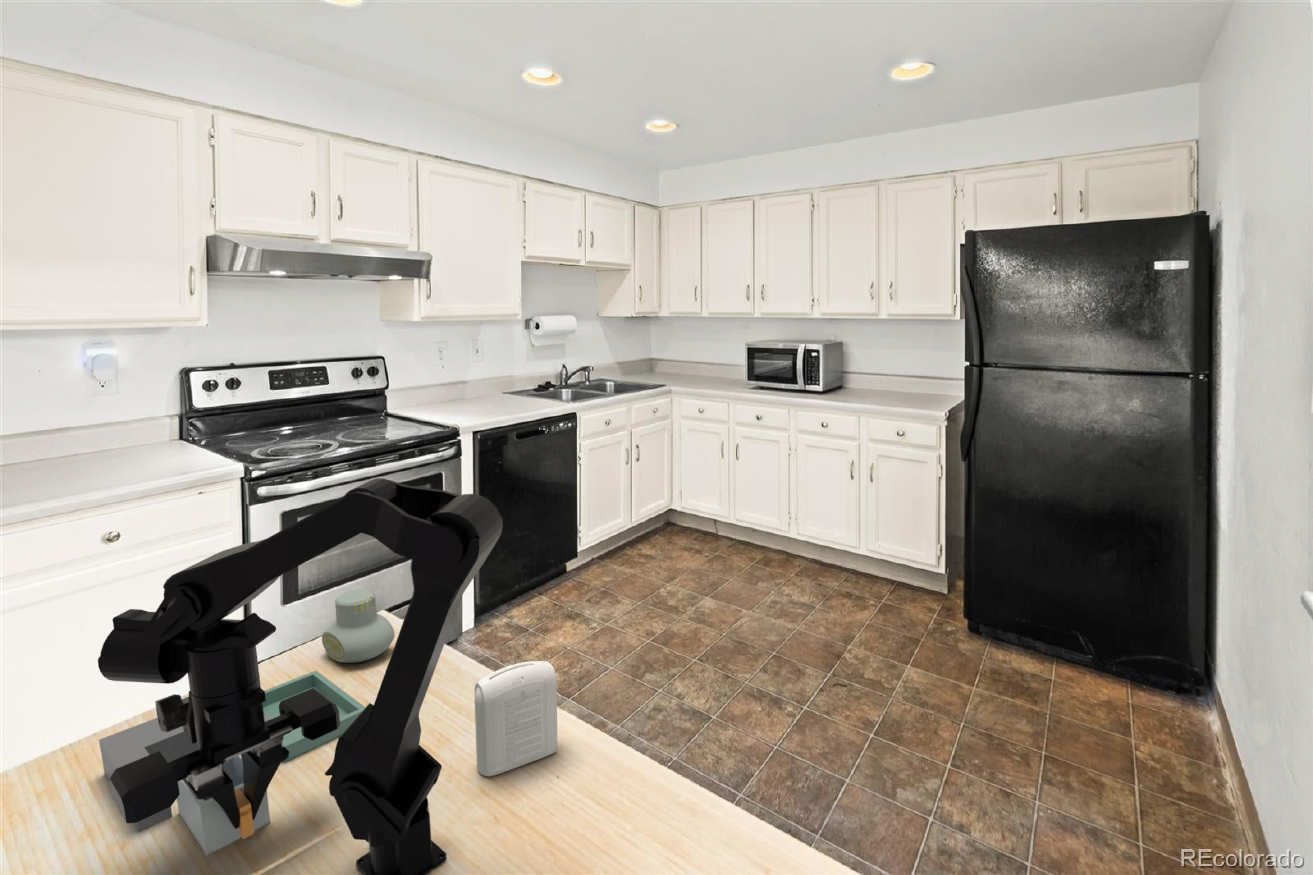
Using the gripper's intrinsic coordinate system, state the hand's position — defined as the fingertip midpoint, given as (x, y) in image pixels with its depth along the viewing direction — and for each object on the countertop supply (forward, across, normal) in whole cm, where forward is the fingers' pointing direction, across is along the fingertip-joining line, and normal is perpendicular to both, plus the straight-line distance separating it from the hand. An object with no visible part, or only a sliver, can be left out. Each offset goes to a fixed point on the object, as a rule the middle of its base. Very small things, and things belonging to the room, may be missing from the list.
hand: (243, 822), depth 69 cm
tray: (+3, -13, -18) cm, 23 cm away
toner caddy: (+3, 0, -5) cm, 6 cm away
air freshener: (+4, -27, -31) cm, 41 cm away
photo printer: (+4, -28, +9) cm, 29 cm away
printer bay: (+3, 0, -18) cm, 18 cm away
